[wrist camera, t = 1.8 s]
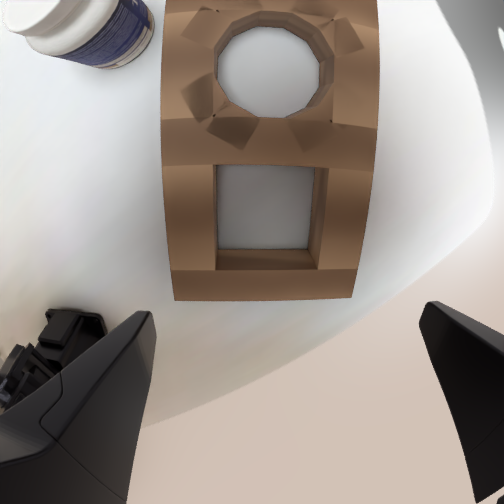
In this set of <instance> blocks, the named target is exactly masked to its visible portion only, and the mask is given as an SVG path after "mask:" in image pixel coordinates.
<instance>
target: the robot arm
mask: <svg viewBox="0 0 504 504" xmlns="http://www.w3.org/2000/svg"><path fill="white" fill-rule="evenodd" d="M45 315H46V318H47V320H48V324H47V325H46V327H45V328H44V330H43V331H42V333H41V334H40V336H39V337H38V341H39V342H38V344H37V345H36V347H35V348H34V346H33V345H32V344H31V343H29V344H28V345H27V346H26V347H24V346H21V345H18V344H16V346H15V347H14V348H13V350H12V351H11V353H10V354H9V356H8V357H7V359H6V360H5V362H4V364H3V366H2V367H1V369H0V504H126V501H127V496H128V490H129V483H130V478H131V472H132V466H133V460H134V456H135V450H136V446H137V441H138V436H139V431H140V427H141V422H142V417H143V413H144V409H145V404H146V400H147V396H148V392H149V387H150V383H151V376H152V368H153V360H154V352H155V345H156V329H155V325H154V320H153V316H152V313H151V312H150V311H137V312H135V313H134V314H133V315H131V316H130V317H129V318H127V319H126V320H125V321H124V322H122V323H121V324H120V325H118V326H117V327H116V328H115V329H113V330H112V331H111V332H109V333H108V334H107V332H106V329H105V326H104V323H103V320H102V318H101V316H100V315H98V314H90V313H79V312H69V311H59V310H50V309H49V310H47V311H46V313H45ZM96 319H97V320H98V321H97V320H96ZM419 328H420V330H421V333H422V336H423V339H424V342H425V345H426V348H427V351H428V354H429V357H430V360H431V363H432V365H433V368H434V370H435V373H436V375H437V377H438V380H439V382H440V385H441V388H442V390H443V392H444V395H445V398H446V401H447V403H448V406H449V409H450V411H451V414H452V417H453V420H454V423H455V426H456V429H457V432H458V435H459V439H460V442H461V445H462V449H463V452H464V456H466V457H465V460H466V464H467V467H468V471H469V475H470V479H471V483H472V488H473V493H474V498H475V501H476V503H479V502H481V501H482V500H484V499H485V498H487V497H489V496H490V495H492V494H493V493H495V492H496V491H498V490H499V489H501V488H502V487H504V335H503V334H501V333H499V332H497V331H495V330H493V329H491V328H489V327H488V326H486V325H484V324H482V323H480V322H478V321H476V320H474V319H472V318H470V317H468V316H466V315H464V314H462V313H460V312H458V311H457V310H455V309H452V308H451V307H449V306H446V305H444V304H443V303H440V302H439V301H431V302H427V304H426V305H425V308H424V310H423V313H422V315H421V318H420V321H419ZM497 504H504V495H503V496H501V497H500V498H499V499H498V501H497Z"/></svg>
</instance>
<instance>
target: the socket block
mask: <svg viewBox="0 0 504 504" xmlns="http://www.w3.org/2000/svg"><path fill="white" fill-rule="evenodd" d="M256 26H263V27H278V28H285V29H286V30H288V31H290V32H292V33H293V34H295V35H297V36H298V37H300V38H302V39H303V40H305V41H307V43H308V44H309V46H310V48H311V49H312V51H313V53H314V55H315V56H316V58H317V60H318V61H319V63H320V68H319V88H318V90H317V91H316V93H315V94H314V96H313V97H312V99H311V100H310V102H309V103H308V105H307V106H306V108H304V109H302V110H300V111H297V112H295V113H293V114H291V115H289V116H287V117H285V118H267V117H257V116H255V115H253V114H251V113H250V112H248V111H246V110H244V109H243V108H241V107H239V106H237V105H235V104H234V103H232V102H230V101H229V100H228V98H227V96H226V95H225V93H224V91H223V90H222V88H221V86H220V85H219V83H218V82H217V67H218V57H219V55H220V54H221V52H222V51H223V49H224V48H225V47H226V45H227V44H228V42H229V41H230V40H231V38H232V37H233V36H236V35H238V34H240V33H242V32H244V31H247V30H249V29H251V28H254V27H256ZM379 77H380V56H379V25H378V10H377V0H166V5H165V16H164V28H163V43H162V62H161V158H162V179H163V196H164V209H165V222H166V233H167V243H168V252H169V261H170V270H171V278H172V285H173V293H174V300H175V301H281V300H313V299H336V298H351V297H352V293H353V288H354V284H355V279H356V275H357V270H358V265H359V260H360V255H361V250H362V245H363V239H364V233H365V228H366V222H367V215H368V209H369V202H370V195H371V187H372V179H373V171H374V162H375V151H376V140H377V126H378V109H379ZM227 164H239V165H285V166H306V167H315V174H314V187H313V199H312V210H311V220H310V230H309V240H308V249H218V241H217V189H216V165H227Z"/></svg>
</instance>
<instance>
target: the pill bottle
mask: <svg viewBox="0 0 504 504" xmlns="http://www.w3.org/2000/svg"><path fill="white" fill-rule="evenodd" d="M3 23H4V26H5V27H6V29H8V30H9V31H11V32H14V33H17V34H21V35H23V36H25V38H26V41H27V43H28V44H29V46H30V47H32V48H33V49H34V50H35V51H37V52H39V53H41V54H45V55H48V56H53V57H58V58H62V59H66V60H70V61H74V62H78V63H81V64H85V65H89V66H92V67H96V68H101V69H112V68H117V67H120V66H122V65H124V64H127V63H128V62H130V61H131V60H133V59H134V58H135V57H136V56H138V55H139V54H140V53H141V52H142V51H143V50H144V48H145V47H146V46H147V44H148V42H149V40H150V38H151V36H152V34H153V29H154V20H153V16H152V13H151V12H150V10H149V8H148V7H147V6H146V5H145V4H144V2H143V1H142V0H6V3H5V6H4V10H3Z"/></svg>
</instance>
